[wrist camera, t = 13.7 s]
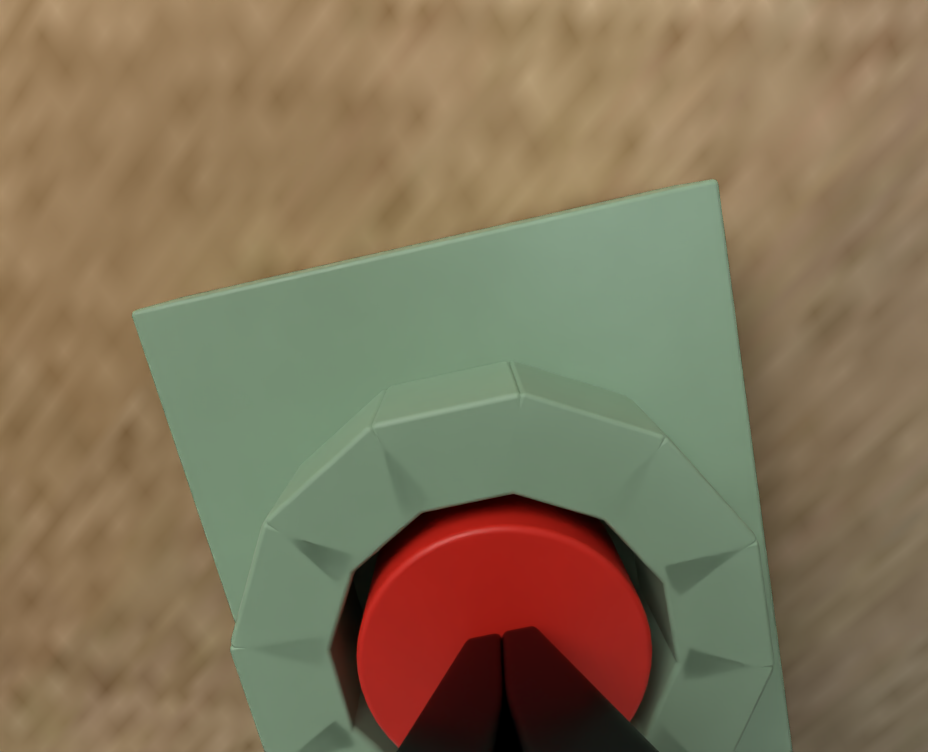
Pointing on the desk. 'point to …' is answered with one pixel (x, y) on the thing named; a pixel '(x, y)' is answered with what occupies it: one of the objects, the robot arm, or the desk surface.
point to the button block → (482, 448)
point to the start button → (498, 602)
